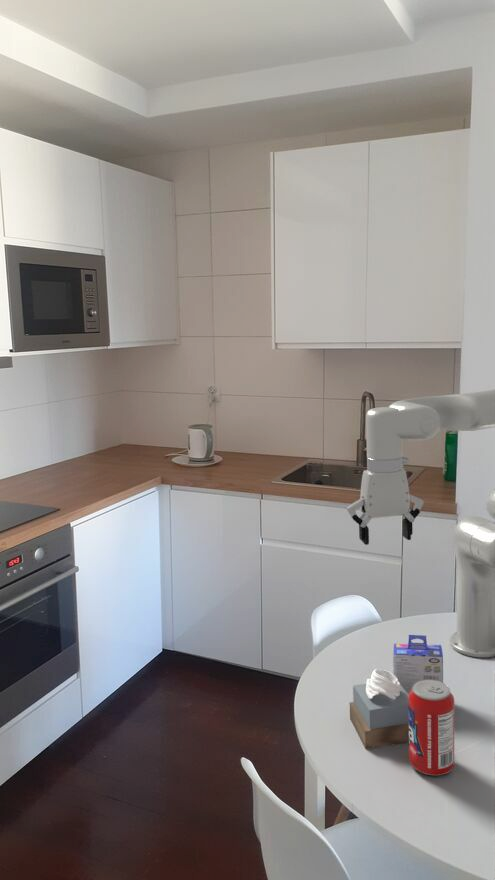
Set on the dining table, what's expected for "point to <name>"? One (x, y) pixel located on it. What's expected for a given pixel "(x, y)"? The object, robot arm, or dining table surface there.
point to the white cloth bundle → (382, 684)
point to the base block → (378, 732)
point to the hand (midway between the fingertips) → (386, 540)
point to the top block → (381, 708)
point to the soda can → (431, 727)
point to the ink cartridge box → (417, 662)
